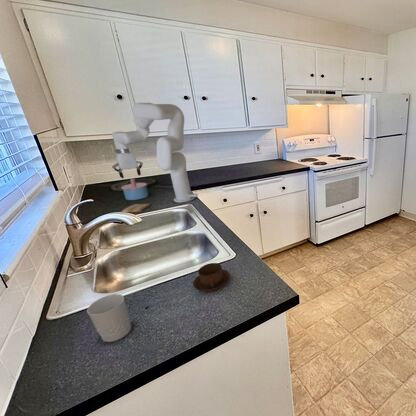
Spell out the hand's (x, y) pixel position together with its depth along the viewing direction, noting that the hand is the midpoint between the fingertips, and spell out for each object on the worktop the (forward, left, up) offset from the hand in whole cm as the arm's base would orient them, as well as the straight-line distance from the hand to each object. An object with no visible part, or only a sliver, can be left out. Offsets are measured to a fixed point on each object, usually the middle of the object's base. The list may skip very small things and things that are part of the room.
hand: (131, 176), depth 181 cm
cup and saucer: (-84, +105, -15) cm, 136 cm away
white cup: (-64, +125, -15) cm, 141 cm away
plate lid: (0, 0, -7) cm, 7 cm away
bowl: (0, 0, -15) cm, 15 cm away
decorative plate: (+19, -30, -15) cm, 38 cm away
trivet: (-13, +24, -15) cm, 31 cm away
